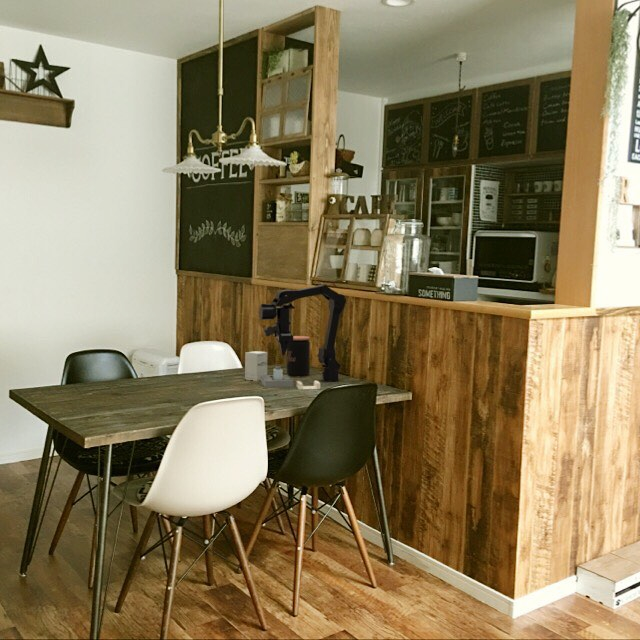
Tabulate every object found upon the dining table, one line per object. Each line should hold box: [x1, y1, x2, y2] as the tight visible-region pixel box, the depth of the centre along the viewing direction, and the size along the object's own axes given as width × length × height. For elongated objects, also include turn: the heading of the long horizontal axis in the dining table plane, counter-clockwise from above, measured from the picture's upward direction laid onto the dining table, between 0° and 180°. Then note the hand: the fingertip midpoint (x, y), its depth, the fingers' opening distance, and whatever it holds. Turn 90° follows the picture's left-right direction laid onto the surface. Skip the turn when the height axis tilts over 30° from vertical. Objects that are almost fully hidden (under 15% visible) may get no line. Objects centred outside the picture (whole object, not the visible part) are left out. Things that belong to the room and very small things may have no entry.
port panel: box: [260, 374, 294, 389], centre depth 315 cm, size 12×16×4 cm
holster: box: [295, 380, 321, 390], centre depth 307 cm, size 9×7×3 cm
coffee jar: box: [286, 335, 311, 377], centre depth 345 cm, size 11×11×18 cm
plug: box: [272, 365, 284, 380], centre depth 311 cm, size 4×4×8 cm
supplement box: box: [244, 350, 268, 382], centre depth 331 cm, size 7×7×13 cm
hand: (283, 355), depth 316 cm, fingers closed
